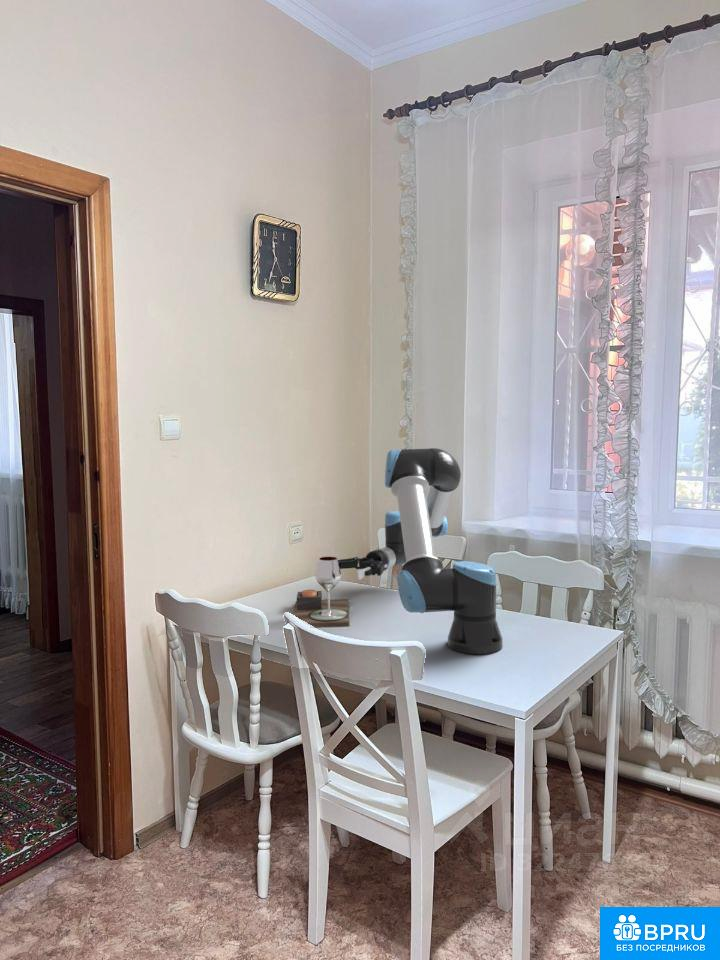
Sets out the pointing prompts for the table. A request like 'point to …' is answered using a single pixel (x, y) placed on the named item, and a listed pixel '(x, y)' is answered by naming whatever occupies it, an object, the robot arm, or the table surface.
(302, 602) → the board
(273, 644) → the table surface
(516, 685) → the table surface
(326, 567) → the wineglass
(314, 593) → the button
